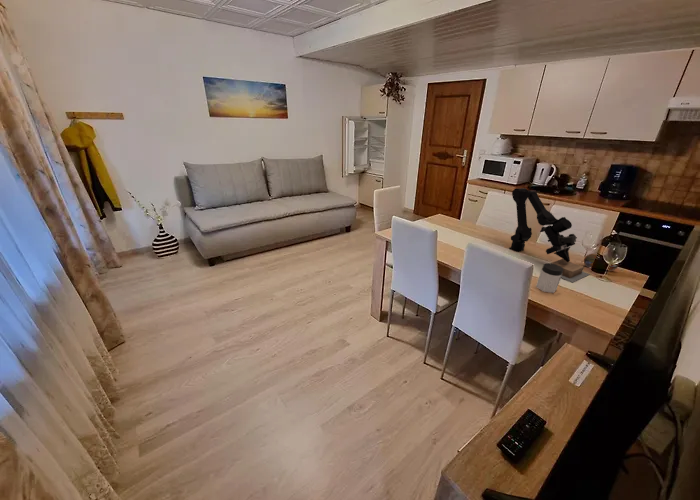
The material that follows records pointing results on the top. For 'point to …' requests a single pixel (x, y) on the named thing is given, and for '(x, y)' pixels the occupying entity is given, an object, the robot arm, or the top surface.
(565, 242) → the robot arm
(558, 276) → the jar
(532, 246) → the top surface
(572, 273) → the block
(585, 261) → the tin
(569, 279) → the mat
